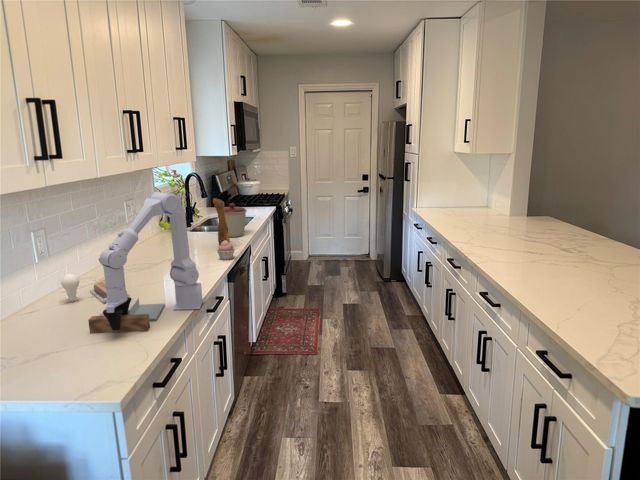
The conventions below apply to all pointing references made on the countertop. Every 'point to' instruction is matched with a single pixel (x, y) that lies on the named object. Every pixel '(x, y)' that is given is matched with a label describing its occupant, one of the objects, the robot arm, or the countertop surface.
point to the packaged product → (101, 291)
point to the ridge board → (145, 309)
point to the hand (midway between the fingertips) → (119, 324)
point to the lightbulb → (70, 285)
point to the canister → (235, 220)
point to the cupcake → (225, 251)
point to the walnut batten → (127, 324)
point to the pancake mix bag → (221, 221)
